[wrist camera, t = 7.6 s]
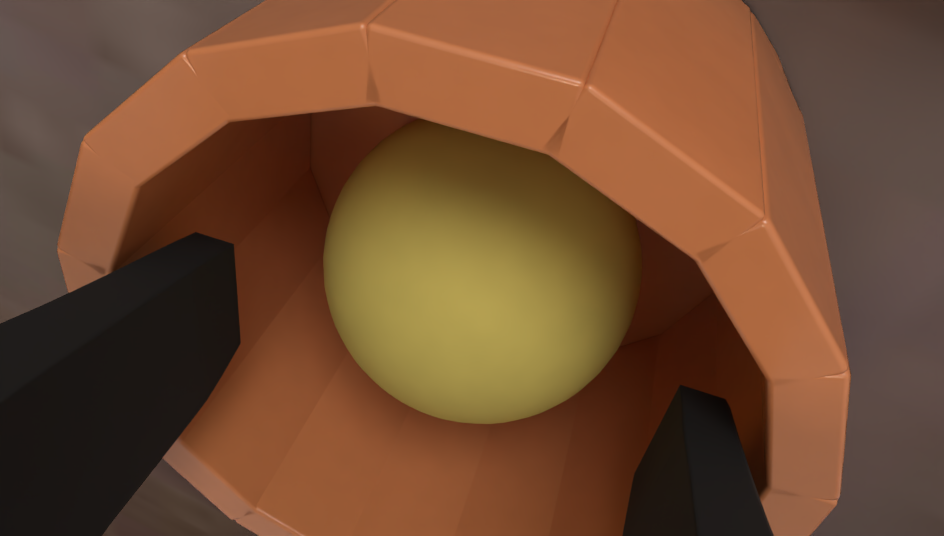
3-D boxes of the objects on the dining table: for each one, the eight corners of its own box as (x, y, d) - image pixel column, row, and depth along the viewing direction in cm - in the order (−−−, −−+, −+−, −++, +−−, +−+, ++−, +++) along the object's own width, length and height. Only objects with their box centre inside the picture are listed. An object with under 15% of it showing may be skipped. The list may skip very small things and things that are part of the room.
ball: (609, 321, 15) (569, 532, 11) (381, 251, 16) (266, 429, 12) (695, 101, 12) (680, 290, 8) (403, 23, 13) (256, 164, 9)
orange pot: (684, 416, 17) (666, 703, 12) (288, 290, 18) (124, 504, 13) (921, -18, 11) (1090, 218, 6) (284, -170, 12) (-39, -86, 7)
